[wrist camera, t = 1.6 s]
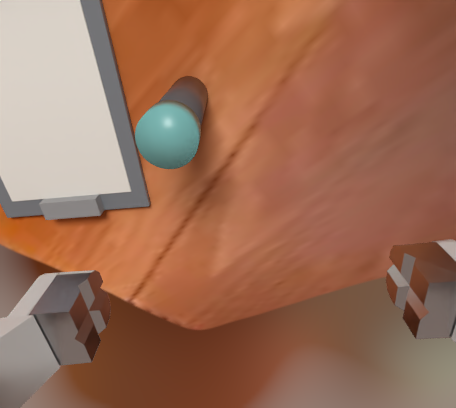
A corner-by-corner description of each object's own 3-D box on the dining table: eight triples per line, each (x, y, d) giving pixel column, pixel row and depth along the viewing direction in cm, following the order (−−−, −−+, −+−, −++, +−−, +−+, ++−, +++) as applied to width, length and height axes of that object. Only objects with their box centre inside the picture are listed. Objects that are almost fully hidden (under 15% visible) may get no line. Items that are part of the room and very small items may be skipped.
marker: (166, 76, 29) (128, 111, 18) (206, 72, 29) (193, 104, 18) (173, 117, 31) (142, 171, 20) (211, 113, 31) (202, 166, 20)
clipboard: (-106, -21, 26) (-128, -24, 24) (91, -44, 25) (81, -49, 23) (10, 214, 37) (0, 223, 35) (150, 203, 36) (147, 211, 34)
